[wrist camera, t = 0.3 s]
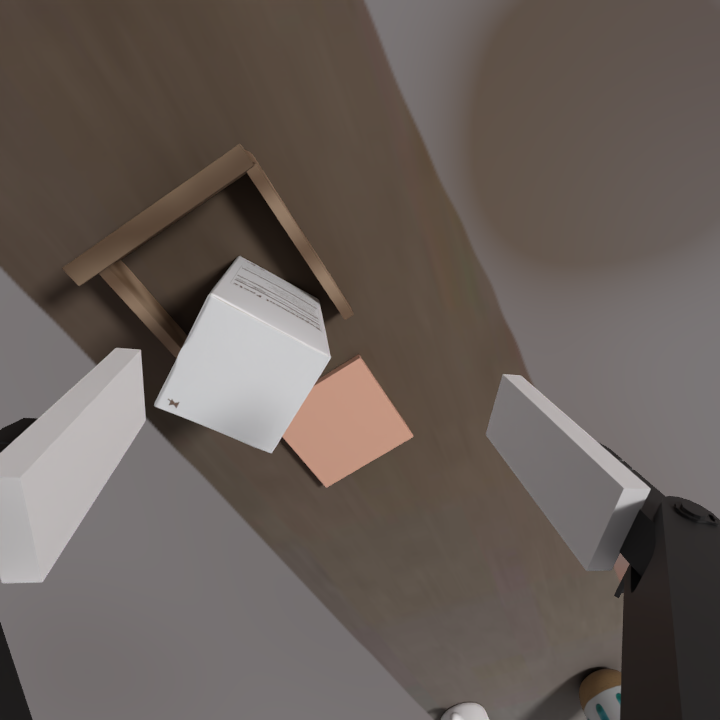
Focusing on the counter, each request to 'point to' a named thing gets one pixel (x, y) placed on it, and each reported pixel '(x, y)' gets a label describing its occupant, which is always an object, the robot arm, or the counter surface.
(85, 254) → the wooden u-shaped frame
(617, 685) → the vase
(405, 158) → the counter surface
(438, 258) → the counter surface
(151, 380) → the counter surface
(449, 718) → the mug
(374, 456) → the terracotta tile
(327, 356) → the supplement box
